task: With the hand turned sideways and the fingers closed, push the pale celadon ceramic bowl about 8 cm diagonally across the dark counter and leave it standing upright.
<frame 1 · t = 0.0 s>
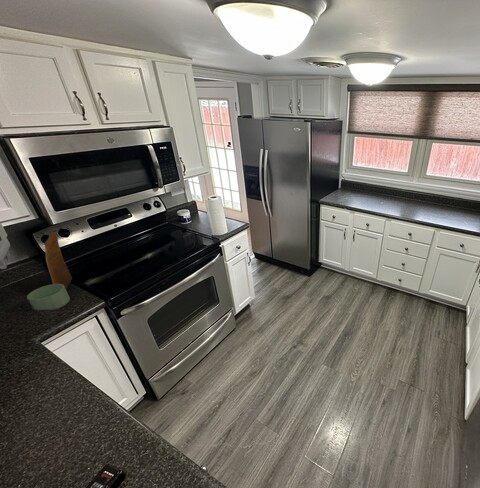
hand: (6, 263, 115), 24 cm above the worktop, tool pointing down, fingers open, 8 cm apart
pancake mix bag: (66, 284, 142), on the worktop
bowl: (53, 305, 127), on the worktop
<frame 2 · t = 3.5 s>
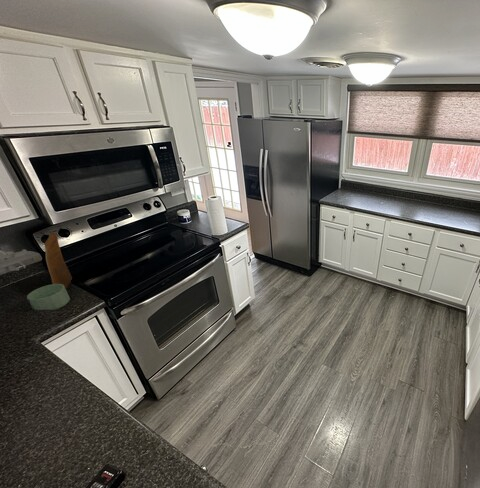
hand: (21, 268, 123), 18 cm above the worktop, tool horizontal, fingers closed
nothing on the worktop moved.
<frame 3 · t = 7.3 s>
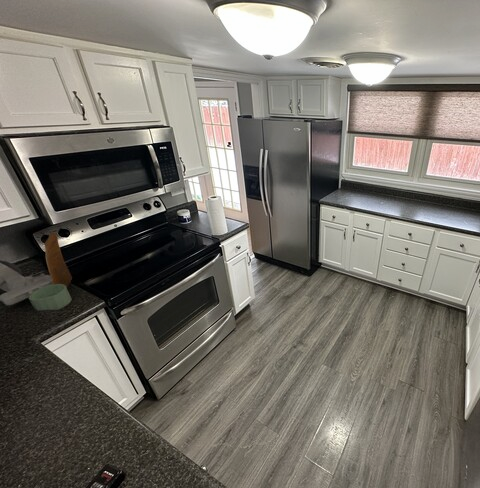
hand: (41, 293, 126), 5 cm above the worktop, tool horizontal, fingers closed, pressing on bowl
bowl: (54, 305, 127), on the worktop, touching gripper
everything else where it was.
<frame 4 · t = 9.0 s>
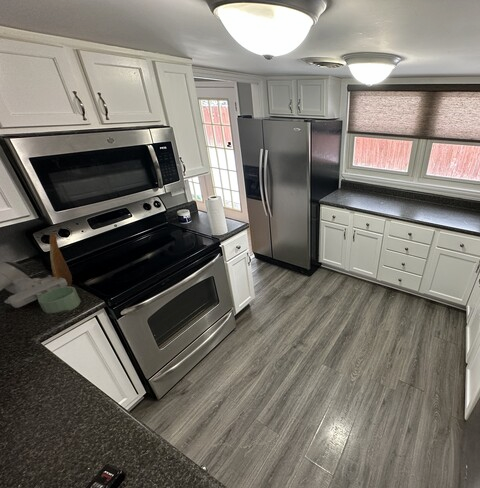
hand: (49, 295, 124), 6 cm above the worktop, tool horizontal, fingers closed, pressing on bowl
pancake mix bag: (67, 284, 142), on the worktop, touching arm
bowl: (63, 307, 125), on the worktop, touching gripper
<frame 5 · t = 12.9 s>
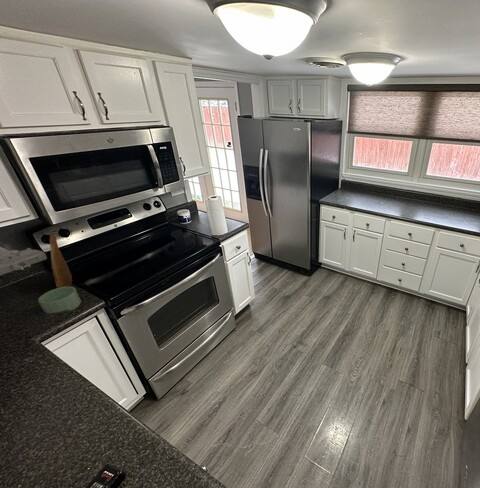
hand: (26, 267, 120), 20 cm above the worktop, tool horizontal, fingers closed
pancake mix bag: (67, 284, 142), on the worktop
bowl: (64, 308, 125), on the worktop
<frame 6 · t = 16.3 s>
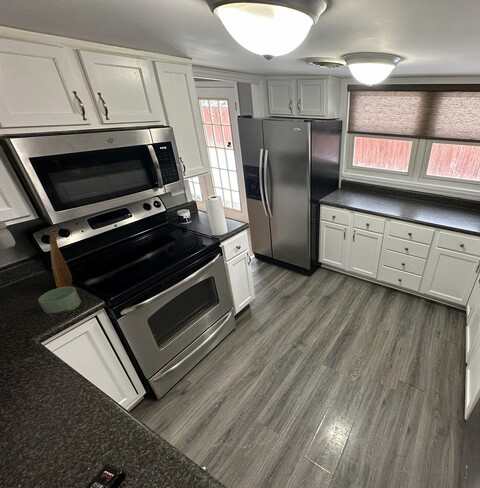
nothing on the worktop moved.
at the end: bowl inside the target area (1.0 cm from its centre), on the worktop; bowl moved 7.2 cm from its start; bowl tilted 0° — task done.
